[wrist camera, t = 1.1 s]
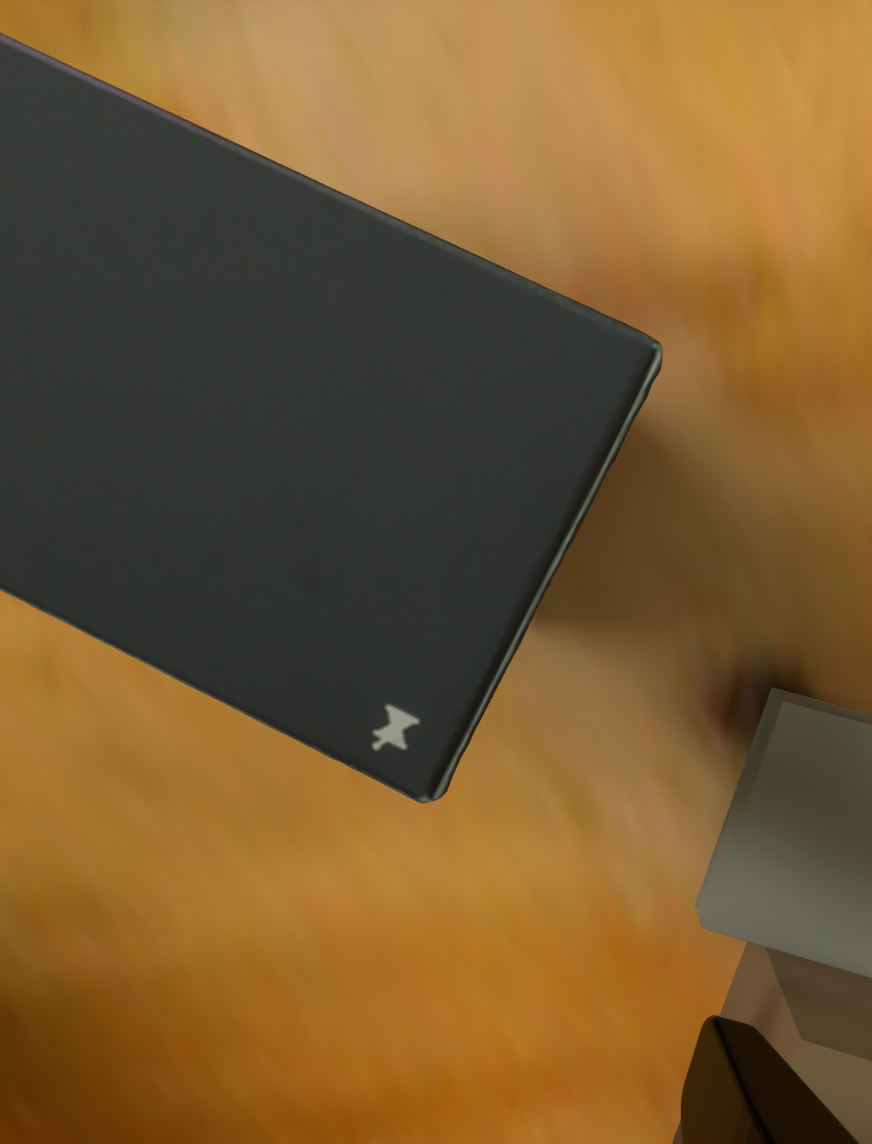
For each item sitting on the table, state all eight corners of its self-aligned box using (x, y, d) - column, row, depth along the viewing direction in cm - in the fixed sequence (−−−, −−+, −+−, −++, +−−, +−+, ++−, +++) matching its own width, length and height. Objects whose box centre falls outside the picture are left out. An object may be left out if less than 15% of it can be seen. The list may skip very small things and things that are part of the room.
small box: (622, 374, 18) (708, 328, 8) (497, 622, 20) (440, 842, 10) (208, 179, 19) (-193, -90, 9) (117, 437, 20) (-317, 463, 10)
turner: (824, 1190, 22) (883, 1360, 18) (618, 1124, 22) (631, 1275, 18) (1013, 751, 19) (1132, 839, 15) (771, 686, 19) (826, 755, 15)
